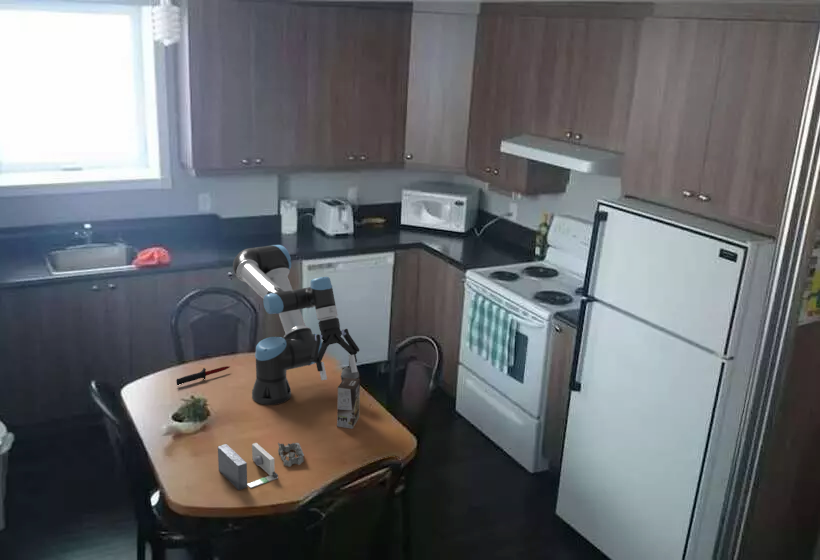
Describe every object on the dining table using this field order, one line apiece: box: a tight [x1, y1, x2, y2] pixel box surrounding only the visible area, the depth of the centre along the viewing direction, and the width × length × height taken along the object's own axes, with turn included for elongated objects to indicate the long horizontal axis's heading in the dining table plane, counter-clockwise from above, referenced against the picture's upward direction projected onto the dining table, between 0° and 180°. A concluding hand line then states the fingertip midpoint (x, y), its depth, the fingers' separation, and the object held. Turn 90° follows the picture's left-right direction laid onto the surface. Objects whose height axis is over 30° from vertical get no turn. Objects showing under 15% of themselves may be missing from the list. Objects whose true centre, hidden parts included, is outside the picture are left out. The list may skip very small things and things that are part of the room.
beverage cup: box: [340, 360, 360, 381], centre depth 305 cm, size 7×7×20 cm
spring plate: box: [251, 442, 279, 478], centre depth 261 cm, size 14×3×6 cm, turn 40°
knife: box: [175, 366, 231, 386], centre depth 321 cm, size 24×2×5 cm, turn 132°
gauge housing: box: [217, 443, 279, 491], centre depth 257 cm, size 15×14×9 cm
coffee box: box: [336, 378, 361, 430], centre depth 292 cm, size 9×6×16 cm
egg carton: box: [277, 442, 305, 467], centre depth 269 cm, size 11×8×4 cm
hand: (339, 376), depth 288 cm, fingers open, 13 cm apart
